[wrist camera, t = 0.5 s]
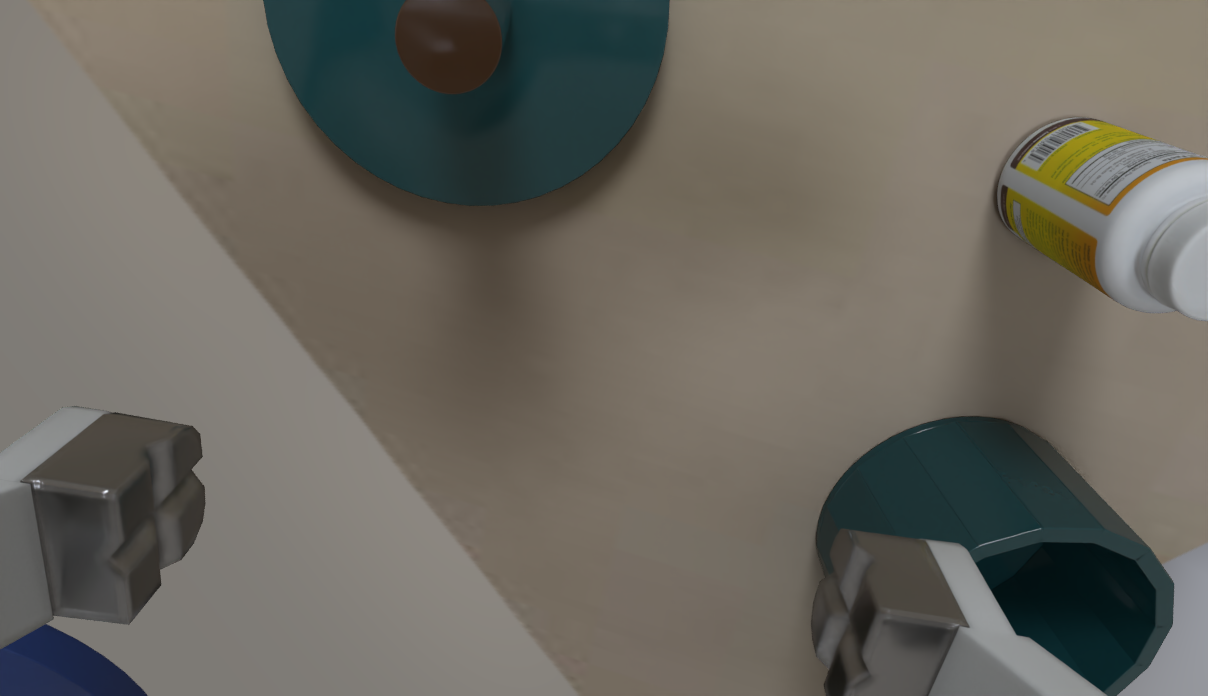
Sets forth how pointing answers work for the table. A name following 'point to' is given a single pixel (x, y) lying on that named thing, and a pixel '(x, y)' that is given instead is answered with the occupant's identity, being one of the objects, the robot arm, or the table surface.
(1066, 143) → the supplement bottle
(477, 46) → the lid
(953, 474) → the pot
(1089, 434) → the table surface
